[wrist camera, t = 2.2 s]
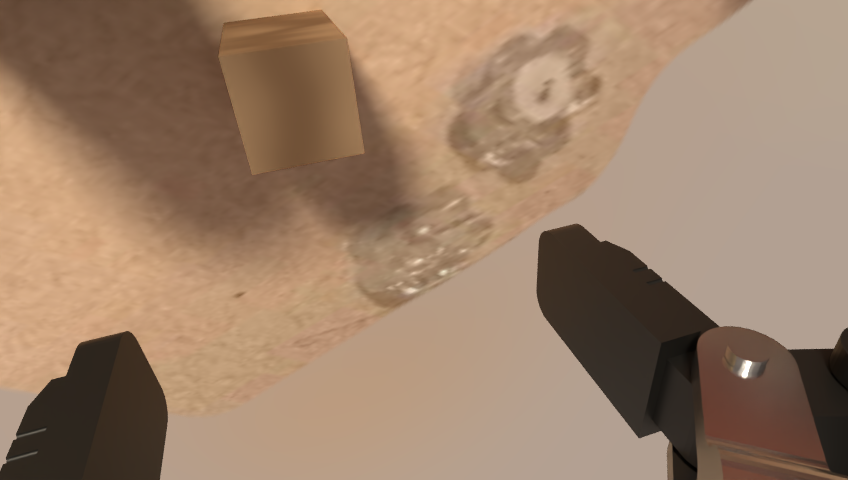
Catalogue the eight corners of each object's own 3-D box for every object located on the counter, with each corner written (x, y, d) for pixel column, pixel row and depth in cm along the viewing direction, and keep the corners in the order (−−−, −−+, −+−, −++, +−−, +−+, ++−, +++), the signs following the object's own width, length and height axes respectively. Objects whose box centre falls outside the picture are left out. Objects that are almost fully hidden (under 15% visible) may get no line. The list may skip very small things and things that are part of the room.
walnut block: (321, 9, 27) (346, 38, 21) (337, 102, 30) (364, 153, 24) (223, 22, 26) (218, 56, 20) (249, 117, 29) (251, 175, 23)
